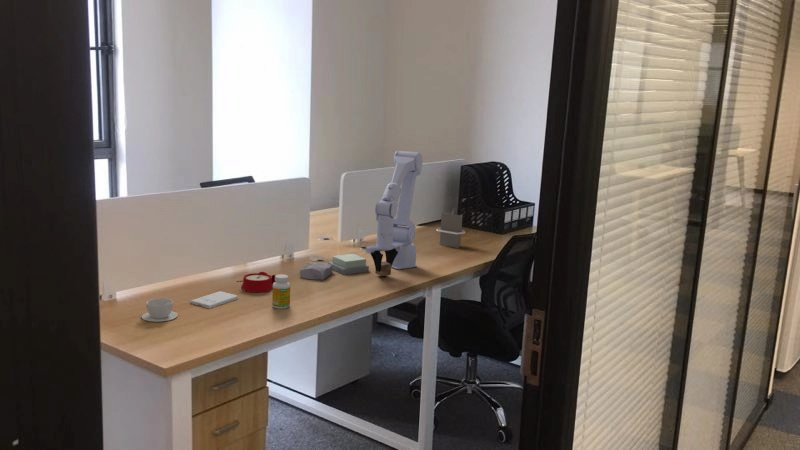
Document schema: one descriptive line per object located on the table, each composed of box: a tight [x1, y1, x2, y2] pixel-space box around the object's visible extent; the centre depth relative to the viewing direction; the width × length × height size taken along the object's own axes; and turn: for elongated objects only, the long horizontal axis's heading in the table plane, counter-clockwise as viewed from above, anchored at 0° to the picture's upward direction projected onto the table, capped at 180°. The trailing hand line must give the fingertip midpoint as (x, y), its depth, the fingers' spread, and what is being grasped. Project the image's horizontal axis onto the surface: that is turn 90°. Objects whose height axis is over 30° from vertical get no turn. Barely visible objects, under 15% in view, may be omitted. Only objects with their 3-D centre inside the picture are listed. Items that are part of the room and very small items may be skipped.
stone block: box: [299, 262, 333, 281], centre depth 261 cm, size 12×5×10 cm
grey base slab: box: [327, 261, 370, 275], centre depth 271 cm, size 11×11×2 cm
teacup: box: [141, 297, 179, 323], centre depth 210 cm, size 10×10×5 cm
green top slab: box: [331, 253, 367, 268], centre depth 271 cm, size 9×9×2 cm
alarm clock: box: [236, 271, 277, 293], centre depth 243 cm, size 10×6×15 cm
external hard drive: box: [189, 290, 239, 309], centre depth 227 cm, size 2×8×12 cm
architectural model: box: [436, 212, 466, 249], centre depth 316 cm, size 20×25×15 cm
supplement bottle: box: [271, 273, 291, 310], centre depth 224 cm, size 5×5×10 cm
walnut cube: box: [375, 260, 392, 277], centre depth 263 cm, size 4×4×4 cm
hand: (383, 270), depth 263 cm, fingers closed on walnut cube, 4 cm apart
